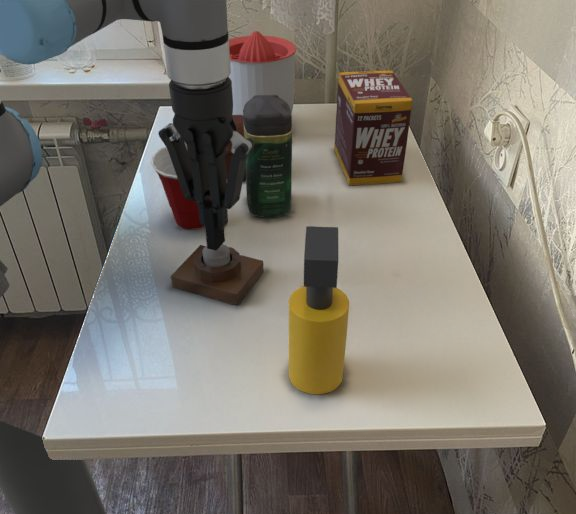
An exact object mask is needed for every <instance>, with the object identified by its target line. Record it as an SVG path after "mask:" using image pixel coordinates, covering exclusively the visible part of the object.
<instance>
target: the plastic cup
mask: <svg viewBox="0 0 576 514" xmlns="http://www.w3.org/2000/svg"><path fill="white" fill-rule="evenodd" d="M185 145H186V143H185ZM186 148H187V145H186ZM150 165H151V167H152V168H153V170H154V171H155V173H156V174H157V175H158V178H159V180H160V182H161V185H162V188H163V190H164V194H165V197H166V199H167V202H168V205H169V207H170V209H171V212H172V215H173V219H174V221H175V222H176V224H177V226H178V227H179V228H181V229H185V230H199V229H202V228H205V225H201V223H200V219H199V211H198V206H197V204H196V202H195V201H193V200H186V199H185V198H184V195H183V192H182V190H181V187H180V184H179V181H178V178H177V175H176V172H175V169H174V167H173V164H172V161H171V158H170V155H169V152H168V149H167V147H166V146H165V145H164V146H163V147H161V148H158V149H157V150H156V151H155V152H154V154H152V156H151V159H150ZM211 200H212V198H211V199H210V201H211Z"/></svg>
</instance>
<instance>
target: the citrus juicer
mask: <svg viewBox="0 0 576 514" xmlns="http://www.w3.org/2000/svg"><path fill="white" fill-rule="evenodd" d="M229 52H230V68H231V73H230V75H229V76H228V77H229V78H230V79H231V81H232V95H233V114H232V115H243V109H244V105H245V104H246V102H247V101H249V100H250V99H251V98H253V96H255V95H277V96H278V97H279V98H281V99H283V100H284V101H285V102H287V103H288V105H289V107H290V110H291V115H292V113H293V109H294V104H295V91H296V90H295V89H296V76H295V75H296V52H297V46H296V44H295V43H293V41H290V40H289V39H285V38H282V37H277V36H271V35H263V34H262V33H260V31H259V30H254V31H253V32H252V33H251V34H250V35H244V36H238V37H233V38H229Z"/></svg>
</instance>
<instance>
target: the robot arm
mask: <svg viewBox="0 0 576 514" xmlns="http://www.w3.org/2000/svg"><path fill="white" fill-rule="evenodd" d="M227 5H228V4H227V0H0V55H1V56H3V57H5V58H6V59H8V60H9V61H12V62H14V63H17V64H21V65H35V64H39V63H42V62H45V61H47V60H49V59H53V58H56V57H58V56H60V55H62V54H64V53H65V52H67V51H68V50H69V49H70V48H72V47H73V46H74V45H77V43H79V42H81V41H83V40H84V39H86V38H88V37H90V36H92V35H94V34H96V33H97V32H99V31H101V30H103V29H104V28H106V27H107V26H110V25H111V24H113V23H114V22H117V21H119V20H133V21H141V22H142V21H144V22H153V23H154V22H158V23H159V25H160V29H161V35H162V42H163V50H164V58H165V67H166V75H167V77H168V78H169V80H170V81H169V83H168V87H169V88H168V89H169V95H170V104H171V110H172V112H173V114H174V115H173V118H172V122H170V123H168V124H167V125H165V126H164V127H163V128H161V129H160V130H159V131H158V134H157V135H158V137H159V138H160V139H161V141H162V143H163V144H164V147H165V146H166V147H167V149H168V152H169V155H170V158H171V161H172V164H173V167H174V169H175V172H176V175H177V178H178V181H179V184H180V187H181V190H182V192H183V195H184V198H185V199H186V200H193V201H195V202H196V204H197V206H198V211H199V219H200V223H201V225H205V226H204V232H205V239H206V246H207V249H211V250H215V251H217V250H218V248H219V247H220V246H221V245H222V244H225V242H226V235H225V228H226V227H227V226H228V224H229V212H228V210H230V209H232V208H233V207H234V206H235V205H236V204H237V202H239V201H240V198H241V194H242V187H243V181H244V180H243V178H244V172H245V167H246V162H247V156H248V154H249V152H250V151H251V149H252V148H253V146H254V140H253V139H252V138H247V139H245V138H244V137H243V136H241V135H240V134H239V133H238V132H237V126H236V124H235V122H234V120H233V116H232V114H233V95H232V81H231V79H230V78H229V77H228V76H229V75H230V73H231V68H230V52H229V40H230V38H229V28H228V26H229V25H228V8H227V7H228V6H227ZM230 141H231V142H232V150H231V152H232V153H233V156H232V158H231V162H230V168H229V174H228V180H227V178H226V165H225V156H226V147H227V146H228V144H229V143H230ZM185 143H186V145H187V148H186V145H185ZM42 164H43V151H42V146H41V142H40V138H39V137H38V135H37V132H36V131H35V129H34V127H33V126H32V125H31V124H30V122H29V121H28V120H27V119H26V118H21V114H20V113H19V112H18V111H16V110H14V109H12V108H11V107H6V106H5V104H4V103H3V101H2V98H0V207H2V206H3V205H4V204H6V203H8V201H10V200H11V199H12V198H13V197H15V196H16V195H18V194H20V193H22V192H23V191H24V190H26V189H27V188H28V187H29V185H30V183H31V182H32V181H33V180H34V179H36V177H37V176H38V174H39V173H40V170H41V167H42ZM211 198H212V200H211V201H210V199H211ZM8 269H9V268H8V267H7V266H6V265H5V264H4V263H3V262H2V260H0V298H1V297H3V295H5V293H7V291H8V289H9V288H10V283H9V281H8V279H7V277H6V275H5V274H6V273H7V271H8Z"/></svg>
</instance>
